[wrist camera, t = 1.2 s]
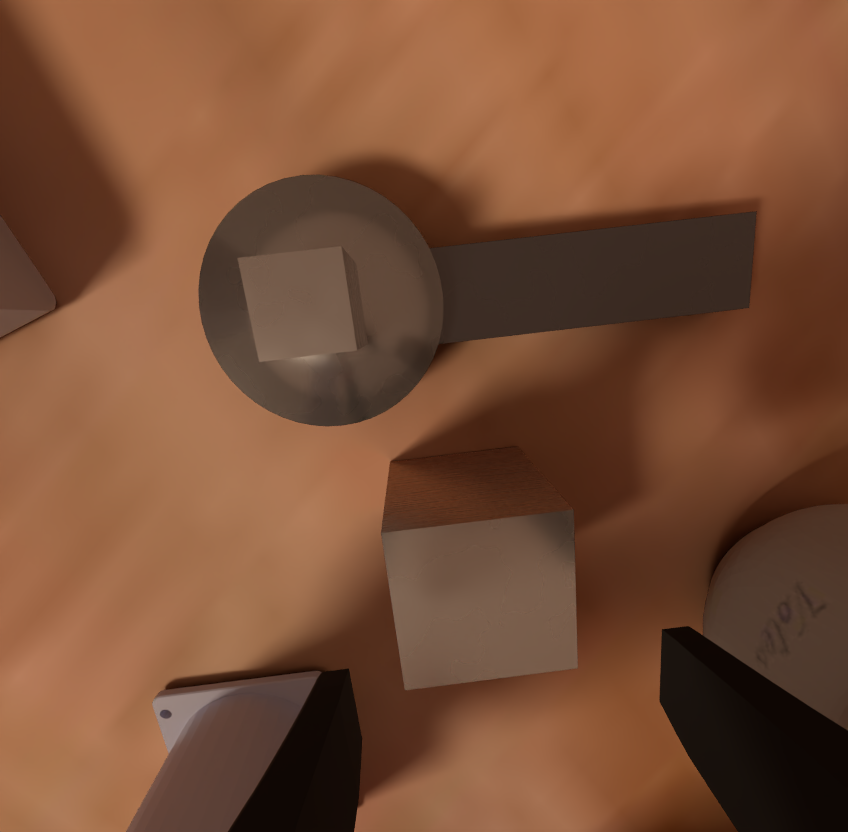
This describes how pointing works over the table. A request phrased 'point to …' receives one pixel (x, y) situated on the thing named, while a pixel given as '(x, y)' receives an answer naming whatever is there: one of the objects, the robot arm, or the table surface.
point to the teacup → (789, 605)
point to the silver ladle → (426, 291)
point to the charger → (20, 285)
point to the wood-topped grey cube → (479, 568)
